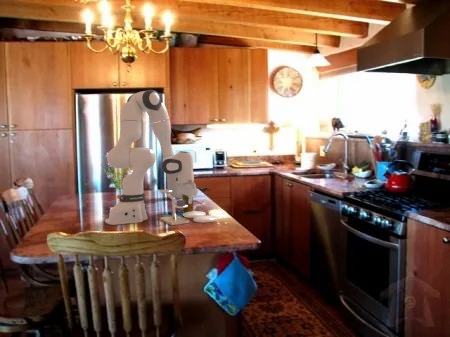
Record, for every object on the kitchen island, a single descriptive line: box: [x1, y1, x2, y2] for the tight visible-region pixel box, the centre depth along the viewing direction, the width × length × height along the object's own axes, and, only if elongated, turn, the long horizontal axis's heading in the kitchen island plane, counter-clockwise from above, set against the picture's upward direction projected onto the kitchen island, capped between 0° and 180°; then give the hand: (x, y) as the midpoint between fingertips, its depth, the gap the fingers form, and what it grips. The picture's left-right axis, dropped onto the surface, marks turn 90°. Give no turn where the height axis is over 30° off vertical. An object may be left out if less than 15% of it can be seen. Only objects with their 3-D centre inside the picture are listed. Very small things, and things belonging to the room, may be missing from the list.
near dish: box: [193, 215, 219, 224], centre depth 245 cm, size 13×13×1 cm
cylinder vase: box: [166, 173, 182, 200], centre depth 319 cm, size 12×12×25 cm
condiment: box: [178, 194, 195, 213], centre depth 270 cm, size 7×8×12 cm
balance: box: [159, 189, 190, 226], centre depth 243 cm, size 10×26×15 cm, turn 30°
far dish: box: [181, 210, 207, 219], centre depth 258 cm, size 13×13×1 cm
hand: (187, 202), depth 270 cm, fingers open, 6 cm apart
